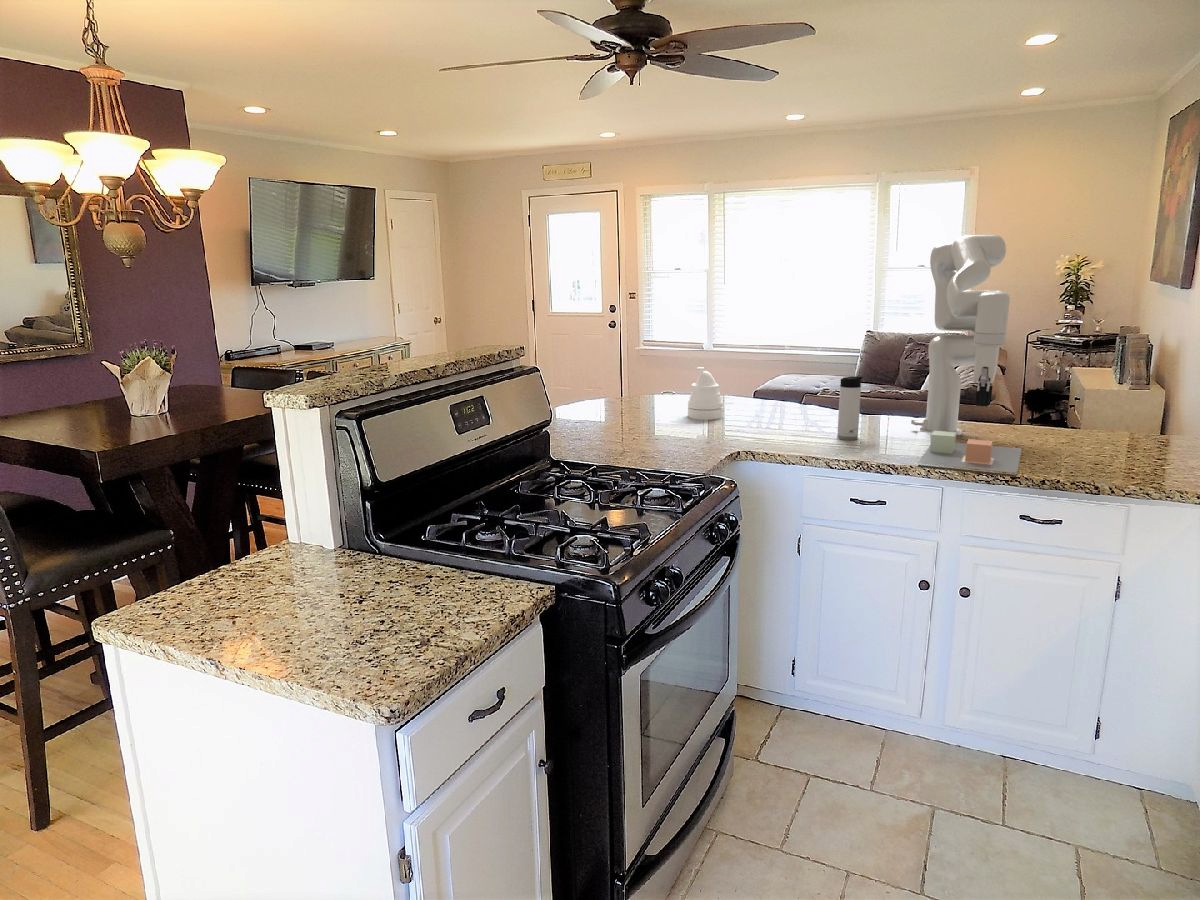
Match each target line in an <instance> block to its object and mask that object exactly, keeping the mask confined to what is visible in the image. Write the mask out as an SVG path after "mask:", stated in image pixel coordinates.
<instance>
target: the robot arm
mask: <svg viewBox="0 0 1200 900" xmlns="http://www.w3.org/2000/svg"><path fill="white" fill-rule="evenodd" d="M1006 252H1007V246H1006V241H1005V239H1004V238H1003V237H1002V236H1000V235H998V234H966V235H963V236H960V237H957V238H956V239H954V241H952V242H944V243H943V242H942V243H939V244H938V245H935V246H934V247H933V249H932V250H931V253H930V256H929V257H930V259H929V260H930V262H929V264H930V271H931V274H932V278H933V281H934V285H935V286H934V287H935V289H934V290H935V298H934V324H935V327H936V328H937V329H938V330H939V331H944V332H947V331H949V332H970V334H971V335H970V334H969V335H968V334H967V335H961V334H954V335H953V334H944V335H938V336H935V337H933V338H932V339H931V340H930V342H929V344H928V347H927V348H928V351H927V352H928V361H929V363H928V364H929V365H928V366H929V372H928V373H929V375H928V387H927V388H928V390H927V402H926V415H925V417H924V418H923V417H922V418H919V419H918V418H911V420H910V422H911V423H910V424H911V425H914V426H921V427H920V428H919V432H920V433H928V434H929V433H930V434H932V433H933V431H945V432H956V436H961V435H962V434H963V431H962V429H961V428H958V421H959V408H960V398H961V389H962V378H961V375H959V373H958V371H957V370H956V369H955V368H954V367H958V366H959V367H960V366H961V367H962V366H965V367H967V366H972V367H973V366H974V369H973V377H972V382H973V383H974V384H975V383H976V382H977V388H976V389H977V390H976V391H975V401H974V405H975V406H976V407H986V408H987V407H989V404H990V401H991V400H992V396H993V395H992V394H993V385H992V384H993V382H994V380H995V379H996V378H995V377H996V375H997V369H998V362H999V355H1000V348H1001V347H1005V345H1006V338H1007V329H1008V328H1007V327H1008V319H1009V310H1010V302H1011V301H1010V300H1011V298H1010V295H1009V294H1008V293H1007V292H1004V291H1002V290H999V289H973V288H974V287H977V286H979V285H981V284H983V283H985V281H987V279H988V278H989V277H990V275H991V269H992V268H993V267H997V266H998V265H1000V264H1001V263H1002V262H1003V261H1004V260H1005V257H1006V255H1007V254H1006ZM971 288H972V289H971Z"/></svg>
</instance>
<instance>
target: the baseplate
mask: <svg viewBox="0 0 1200 900" xmlns="http://www.w3.org/2000/svg"><path fill="white" fill-rule="evenodd" d="M966 445H967V443H964V442H963V443H962V442H955V450H954V452H953V453H952V454H951V453H941V452H930V445H929V446H928V448H927V449H926V451H925V452H924V453H923V455H922V456H921V458H920V459H919V461H918V464H917V467H918V468H923V469H924V468H925V469H934V470H942V471H943V470H945V471H953V472H962V473H971V474H972V473H973V474H982V475H992V476H998V477H999V476H1001V477H1011V478H1012V477H1013V478H1017V476H1018V472H1017V471H1018V469H1019V466H1020V465H1019V464H1020V459H1021V454H1022V450H1023V449H1022V448H1020V447H1008V446H997V445H992V452H991V460H990V463H978V462H968V461H965V455H966ZM926 464H927V465H926ZM934 465H935V466H934ZM964 468H965V469H964ZM973 469H974V470H973ZM975 469H976V470H975ZM983 470H985V471H983ZM991 471H993V472H991ZM1002 472H1004V473H1002ZM1011 473H1012V474H1011ZM1013 473H1014V474H1013Z"/></svg>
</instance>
